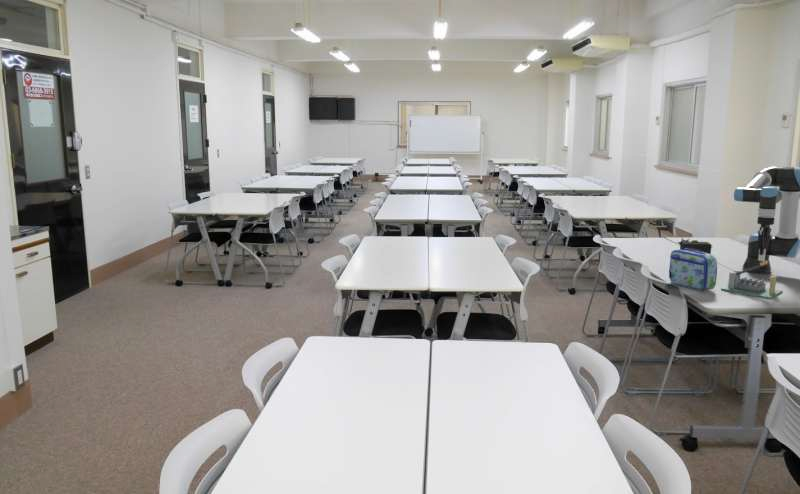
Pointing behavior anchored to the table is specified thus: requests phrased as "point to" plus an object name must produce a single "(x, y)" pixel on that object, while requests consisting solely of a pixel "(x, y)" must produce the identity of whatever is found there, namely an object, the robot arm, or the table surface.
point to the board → (767, 293)
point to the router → (696, 246)
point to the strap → (754, 267)
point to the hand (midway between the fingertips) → (761, 260)
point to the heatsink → (751, 285)
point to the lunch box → (693, 269)
